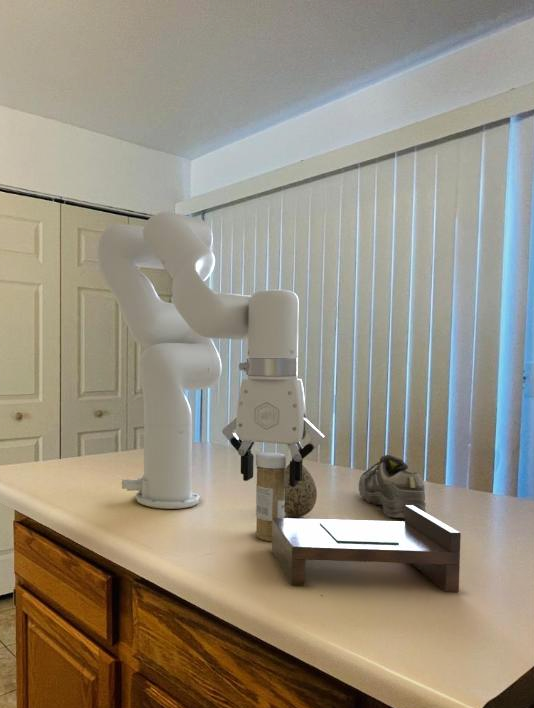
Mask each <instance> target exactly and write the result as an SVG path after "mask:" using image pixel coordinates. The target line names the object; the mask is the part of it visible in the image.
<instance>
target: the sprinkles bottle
mask: <svg viewBox="0 0 534 708" xmlns="http://www.w3.org/2000/svg"><path fill="white" fill-rule="evenodd" d="M286 456H287V455H285V454H283V453H280V452H271V451H270V452H269V451H268V452H267V451H266V452H258V453H256V455H255V466H256V487H255V488H256V489H255V490H256V491H255V495H256V496H255V508H256V509H255V516H256V530H255V536H256V537H257V538H258V539H260V540H263V541H267V542H272V518H285V512H284V500H285V490H284V470H285V468H286V467H287V457H286Z"/></svg>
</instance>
